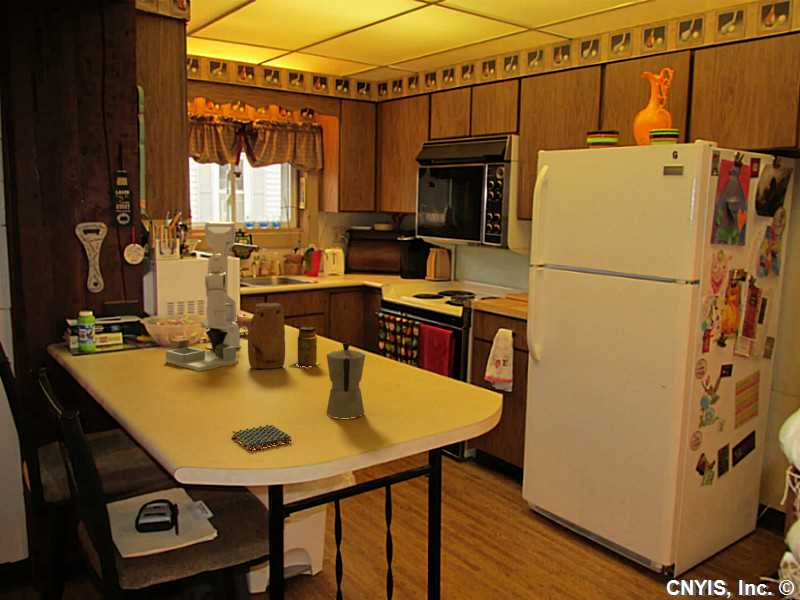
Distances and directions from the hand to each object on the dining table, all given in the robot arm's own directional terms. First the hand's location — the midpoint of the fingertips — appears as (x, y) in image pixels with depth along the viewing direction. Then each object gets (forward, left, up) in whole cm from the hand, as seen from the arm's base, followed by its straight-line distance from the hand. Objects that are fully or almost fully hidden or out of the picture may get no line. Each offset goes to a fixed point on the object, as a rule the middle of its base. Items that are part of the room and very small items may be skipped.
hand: (217, 352), depth 220 cm
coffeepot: (+15, +69, -3) cm, 70 cm away
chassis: (+4, -2, -3) cm, 6 cm away
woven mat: (+40, +67, -4) cm, 78 cm away
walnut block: (+5, -13, -3) cm, 14 cm away
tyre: (0, +3, -1) cm, 3 cm away
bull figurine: (-34, -27, -3) cm, 44 cm away
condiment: (-15, +25, -3) cm, 29 cm away
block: (-5, +18, -3) cm, 19 cm away
